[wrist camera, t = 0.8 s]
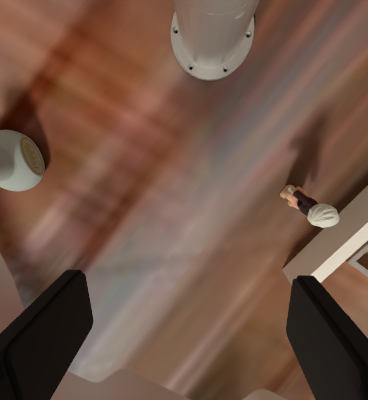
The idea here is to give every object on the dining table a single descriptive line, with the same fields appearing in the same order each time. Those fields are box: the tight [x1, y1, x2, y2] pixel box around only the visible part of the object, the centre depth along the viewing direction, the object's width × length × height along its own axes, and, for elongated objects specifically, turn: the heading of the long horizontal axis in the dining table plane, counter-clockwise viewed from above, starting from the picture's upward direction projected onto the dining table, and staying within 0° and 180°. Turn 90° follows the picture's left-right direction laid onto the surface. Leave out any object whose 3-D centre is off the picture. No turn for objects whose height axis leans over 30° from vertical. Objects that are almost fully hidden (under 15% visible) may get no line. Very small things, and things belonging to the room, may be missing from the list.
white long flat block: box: [282, 186, 368, 285], centre depth 37 cm, size 26×2×6 cm, turn 146°
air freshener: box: [0, 130, 45, 191], centre depth 36 cm, size 11×8×10 cm
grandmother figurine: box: [280, 185, 340, 228], centre depth 32 cm, size 8×4×13 cm, turn 52°
